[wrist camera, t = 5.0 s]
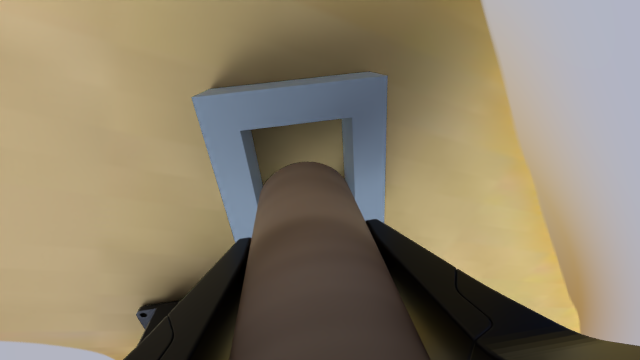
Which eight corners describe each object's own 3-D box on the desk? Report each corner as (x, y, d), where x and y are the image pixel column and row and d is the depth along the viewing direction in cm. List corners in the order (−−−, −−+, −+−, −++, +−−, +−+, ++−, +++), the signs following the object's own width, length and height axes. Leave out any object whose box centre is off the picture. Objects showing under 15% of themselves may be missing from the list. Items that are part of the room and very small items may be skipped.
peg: (353, 235, 12) (447, 489, 5) (268, 247, 12) (241, 534, 5) (349, 155, 10) (486, 375, 3) (249, 168, 10) (164, 436, 3)
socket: (370, 204, 19) (383, 230, 16) (245, 222, 18) (238, 251, 16) (369, 71, 15) (387, 75, 12) (209, 89, 14) (191, 97, 12)
